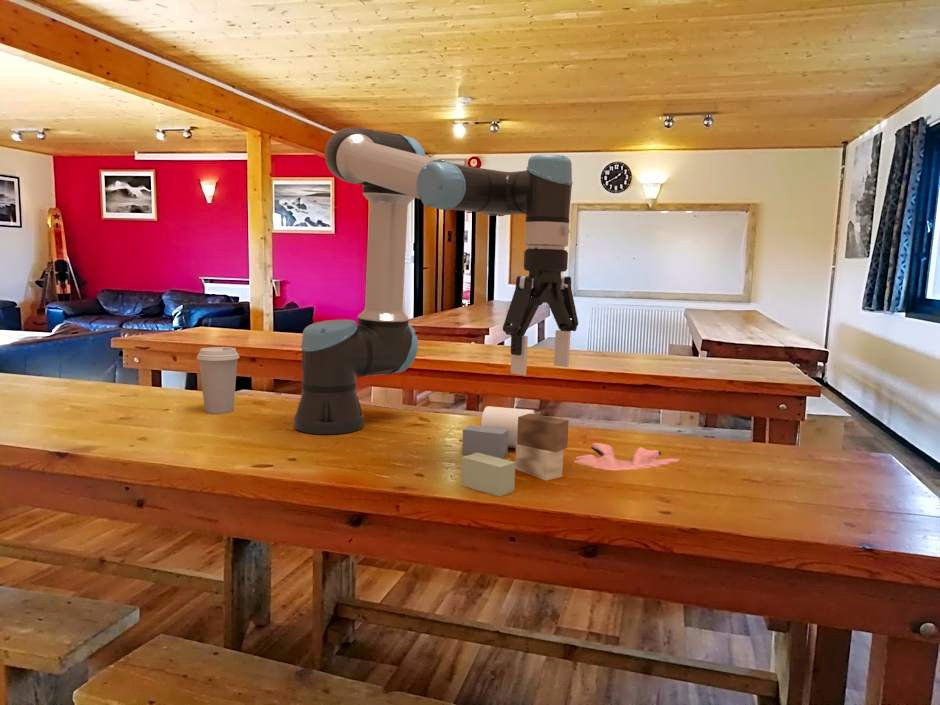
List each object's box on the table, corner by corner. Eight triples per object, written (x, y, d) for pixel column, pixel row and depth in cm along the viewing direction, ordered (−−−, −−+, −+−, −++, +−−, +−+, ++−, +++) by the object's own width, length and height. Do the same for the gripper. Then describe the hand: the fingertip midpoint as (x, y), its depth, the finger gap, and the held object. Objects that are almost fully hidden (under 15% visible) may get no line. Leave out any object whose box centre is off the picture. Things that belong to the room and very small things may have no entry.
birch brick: (515, 469, 124) (516, 442, 123) (531, 465, 126) (532, 439, 126) (545, 480, 118) (547, 452, 117) (562, 477, 120) (563, 449, 119)
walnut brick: (517, 444, 122) (518, 417, 121) (528, 440, 125) (529, 413, 125) (556, 452, 117) (557, 424, 117) (567, 447, 121) (568, 420, 120)
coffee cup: (232, 416, 158) (230, 352, 156) (191, 414, 158) (189, 351, 156) (245, 407, 167) (245, 347, 166) (207, 406, 168) (206, 346, 166)
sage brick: (461, 486, 114) (462, 457, 113) (476, 480, 117) (477, 452, 116) (499, 497, 109) (500, 467, 108) (514, 491, 112) (515, 462, 111)
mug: (528, 454, 134) (530, 414, 133) (479, 449, 136) (480, 410, 135) (537, 439, 145) (539, 402, 144) (492, 435, 148) (493, 399, 147)
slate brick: (462, 454, 132) (462, 429, 132) (469, 449, 136) (470, 425, 136) (501, 459, 130) (502, 434, 129) (507, 454, 133) (508, 429, 133)
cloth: (562, 468, 127) (562, 455, 127) (584, 440, 148) (585, 430, 147) (675, 483, 120) (676, 470, 120) (682, 452, 141) (683, 440, 140)
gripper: (522, 245, 105) (516, 380, 108) (601, 250, 124) (594, 365, 127) (484, 245, 110) (480, 374, 113) (565, 250, 129) (560, 360, 132)
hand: (540, 370), depth 120 cm, fingers open, 13 cm apart
